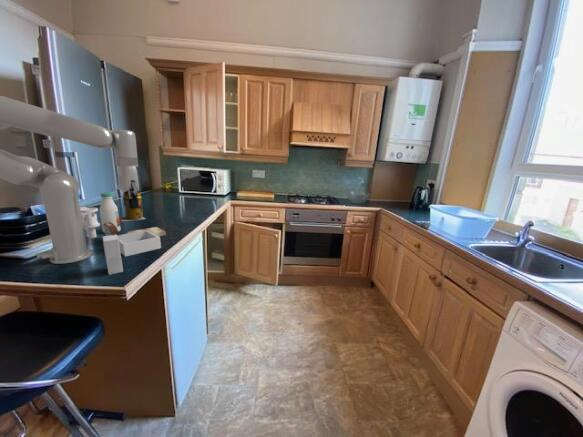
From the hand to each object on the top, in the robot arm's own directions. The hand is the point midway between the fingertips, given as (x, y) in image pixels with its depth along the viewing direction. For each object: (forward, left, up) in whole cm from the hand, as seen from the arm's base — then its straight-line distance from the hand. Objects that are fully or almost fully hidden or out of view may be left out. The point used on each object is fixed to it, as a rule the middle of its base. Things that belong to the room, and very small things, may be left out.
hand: (131, 206), depth 104 cm
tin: (-5, +17, -18) cm, 25 cm away
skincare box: (-13, -19, -18) cm, 29 cm away
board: (+9, +16, -18) cm, 26 cm away
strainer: (-10, +30, -18) cm, 36 cm away
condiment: (0, 0, -5) cm, 5 cm away
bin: (0, 0, -18) cm, 18 cm away
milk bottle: (-1, +35, -18) cm, 39 cm away
